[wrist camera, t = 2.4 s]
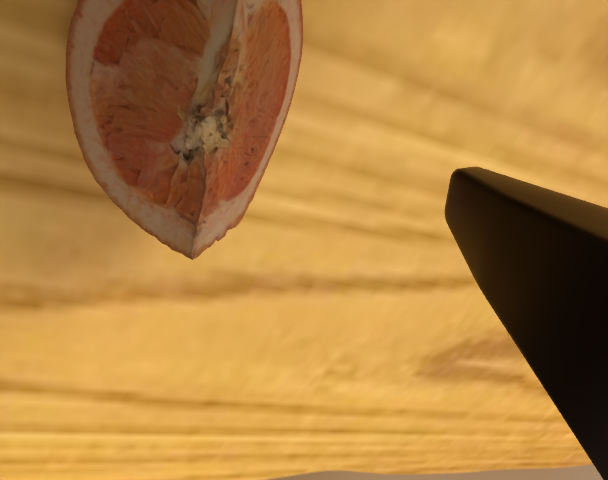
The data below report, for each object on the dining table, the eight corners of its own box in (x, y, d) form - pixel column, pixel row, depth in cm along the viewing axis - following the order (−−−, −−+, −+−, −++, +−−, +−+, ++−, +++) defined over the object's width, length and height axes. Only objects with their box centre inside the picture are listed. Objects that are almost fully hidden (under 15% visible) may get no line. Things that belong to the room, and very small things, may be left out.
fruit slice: (256, 189, 21) (290, 268, 17) (64, 171, 19) (53, 259, 15) (313, -51, 17) (376, -17, 13) (75, -115, 15) (65, -97, 11)
